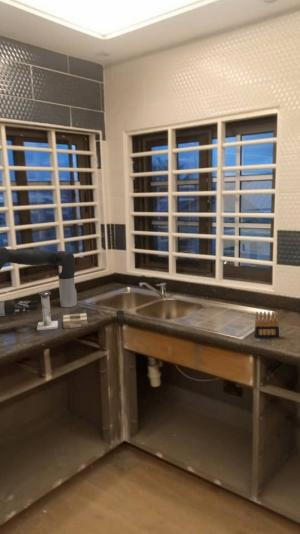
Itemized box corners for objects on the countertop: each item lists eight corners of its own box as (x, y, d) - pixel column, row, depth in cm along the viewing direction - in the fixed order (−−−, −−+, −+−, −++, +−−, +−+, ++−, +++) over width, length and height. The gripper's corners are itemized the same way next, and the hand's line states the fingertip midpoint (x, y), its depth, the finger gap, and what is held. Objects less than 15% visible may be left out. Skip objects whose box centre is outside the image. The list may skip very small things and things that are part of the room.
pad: (38, 324, 216) (38, 322, 215) (58, 322, 217) (57, 320, 217) (37, 330, 206) (36, 328, 206) (57, 328, 208) (57, 326, 208)
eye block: (63, 321, 219) (63, 315, 218) (86, 319, 221) (86, 313, 220) (63, 328, 207) (63, 321, 207) (87, 326, 210) (87, 319, 209)
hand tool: (116, 317, 224) (116, 309, 223) (124, 316, 224) (123, 308, 223) (116, 328, 205) (115, 319, 204) (124, 328, 205) (123, 319, 204)
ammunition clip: (254, 337, 185) (255, 312, 183) (254, 336, 186) (254, 310, 184) (279, 337, 184) (279, 311, 182) (278, 336, 186) (278, 310, 183)
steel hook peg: (47, 322, 216) (45, 290, 212) (56, 323, 212) (53, 292, 209) (39, 325, 211) (36, 293, 208) (47, 327, 207) (44, 294, 204)
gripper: (1, 304, 198) (36, 301, 201) (5, 297, 212) (38, 294, 215) (3, 319, 199) (37, 316, 202) (7, 311, 213) (39, 308, 216)
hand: (37, 305), depth 209 cm, fingers open, 8 cm apart
